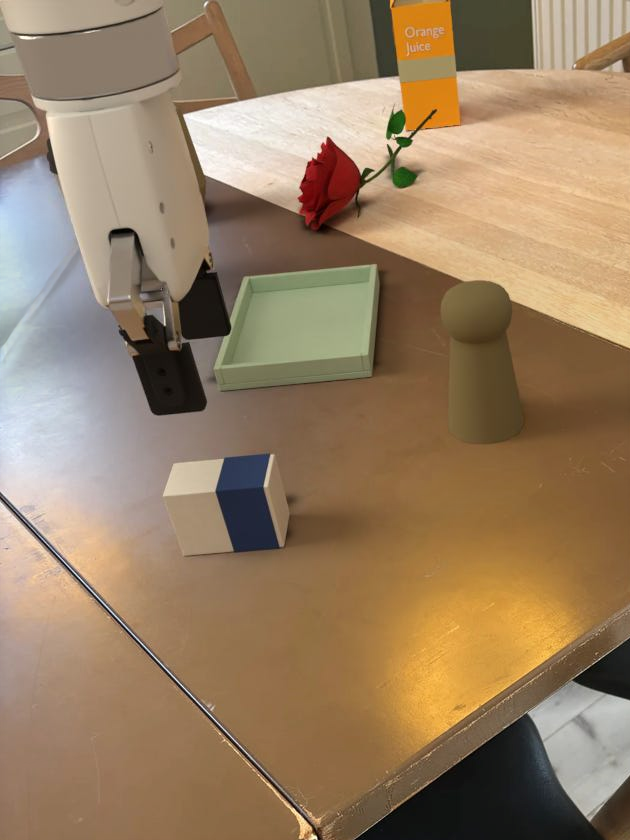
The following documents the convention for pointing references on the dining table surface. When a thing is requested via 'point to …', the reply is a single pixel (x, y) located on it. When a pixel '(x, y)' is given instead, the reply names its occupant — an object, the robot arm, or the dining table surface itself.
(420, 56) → the orange juice
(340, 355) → the tray
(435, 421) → the dining table surface
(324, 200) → the flower
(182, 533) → the eraser
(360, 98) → the dining table surface
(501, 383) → the olive brown pawn figure
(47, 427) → the dining table surface
